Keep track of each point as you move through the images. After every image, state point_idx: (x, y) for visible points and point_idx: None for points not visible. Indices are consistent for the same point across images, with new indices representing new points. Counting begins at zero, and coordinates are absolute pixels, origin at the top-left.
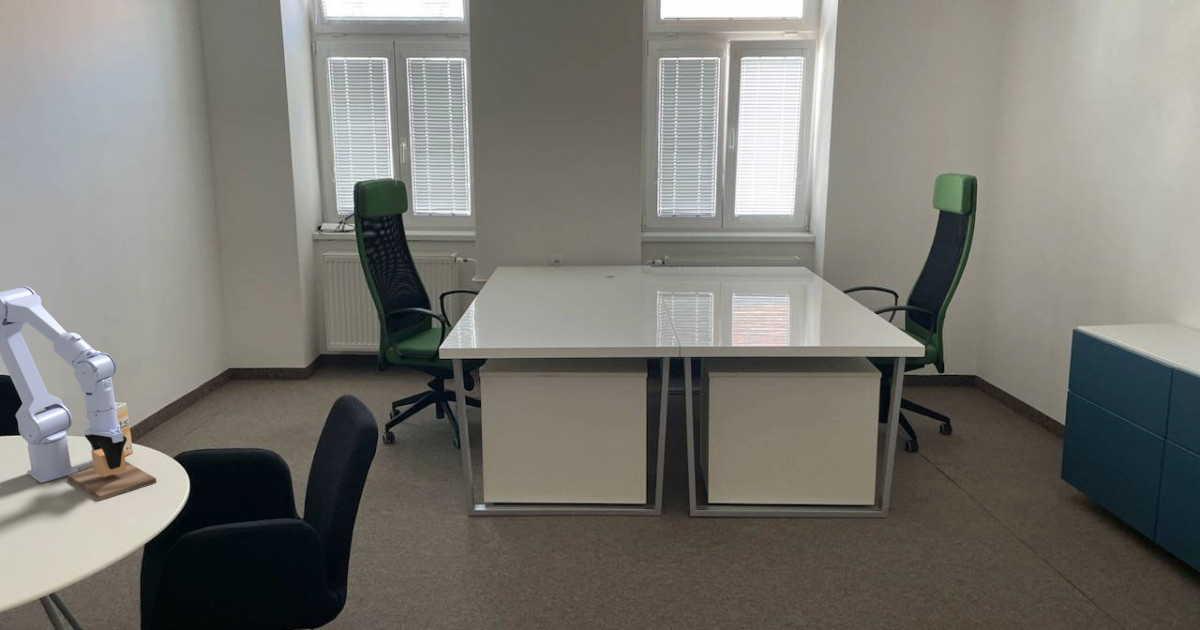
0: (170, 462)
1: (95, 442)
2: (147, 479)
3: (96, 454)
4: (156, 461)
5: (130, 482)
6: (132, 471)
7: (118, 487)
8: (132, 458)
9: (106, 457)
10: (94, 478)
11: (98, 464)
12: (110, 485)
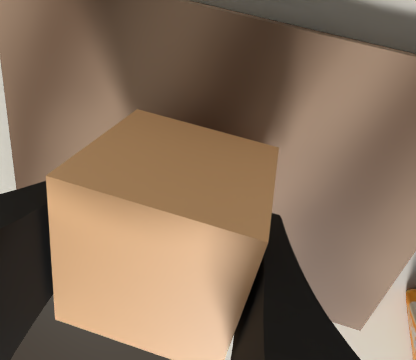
0: None
1: (252, 353)
2: None
3: (139, 201)
4: (231, 344)
5: (55, 156)
6: None
7: (35, 90)
8: (360, 353)
9: (33, 193)
10: (271, 119)
11: (164, 154)
12: (93, 89)
